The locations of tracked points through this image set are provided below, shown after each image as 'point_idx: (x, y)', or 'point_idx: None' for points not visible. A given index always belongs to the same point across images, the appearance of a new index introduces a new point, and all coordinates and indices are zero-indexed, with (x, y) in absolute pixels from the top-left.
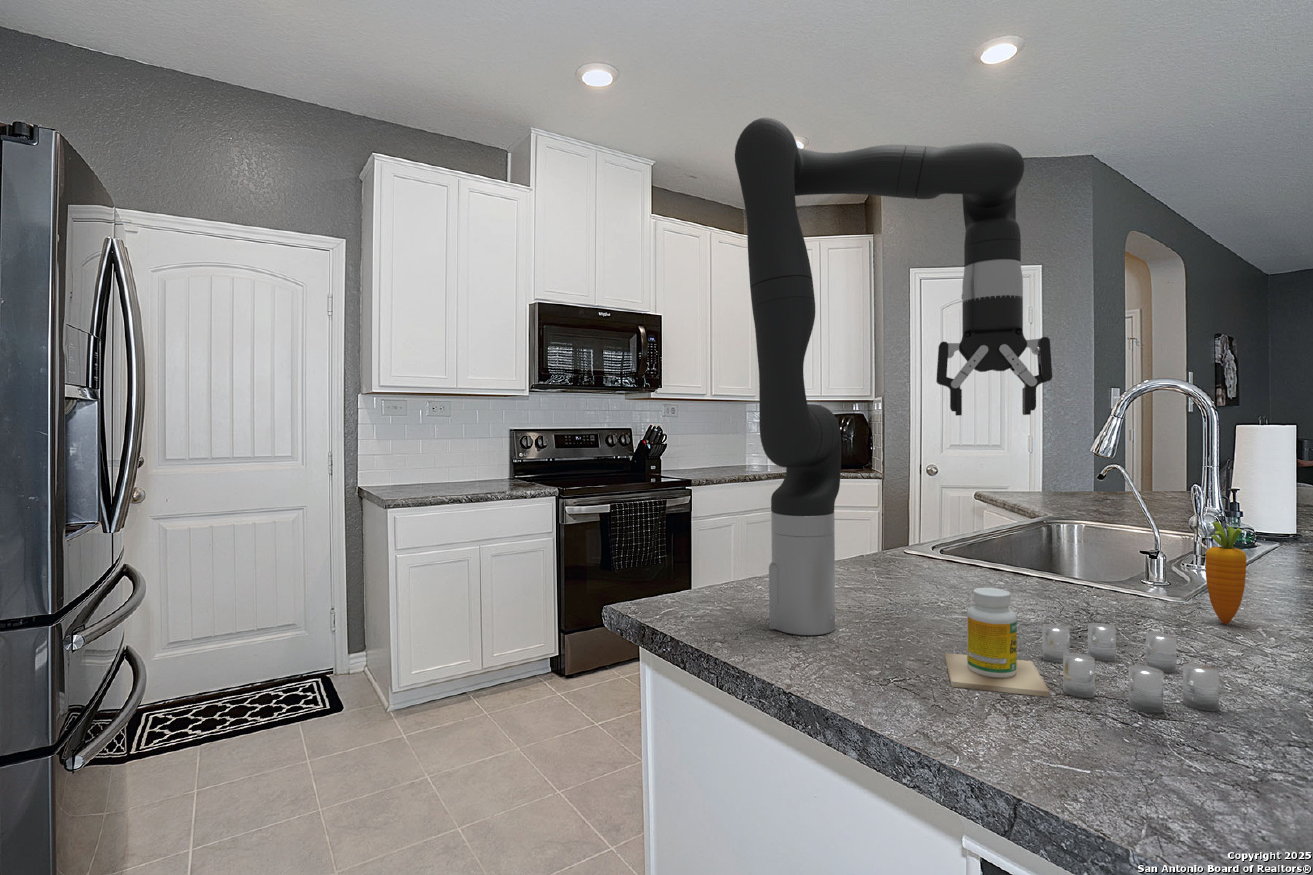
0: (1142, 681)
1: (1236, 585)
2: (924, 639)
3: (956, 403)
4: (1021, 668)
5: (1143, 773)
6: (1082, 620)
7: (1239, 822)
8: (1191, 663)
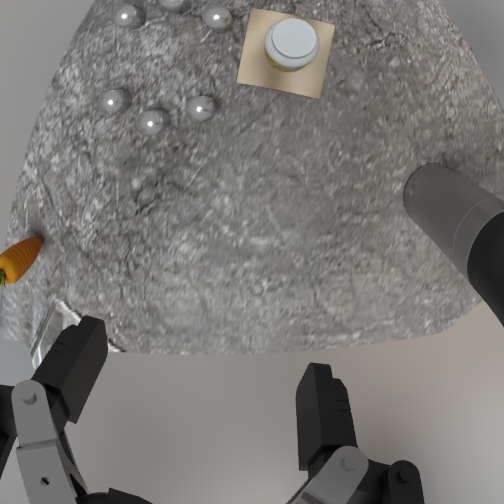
0: None
1: (16, 244)
2: (323, 156)
3: (334, 395)
4: (255, 60)
5: None
6: (138, 238)
7: None
8: (122, 23)
